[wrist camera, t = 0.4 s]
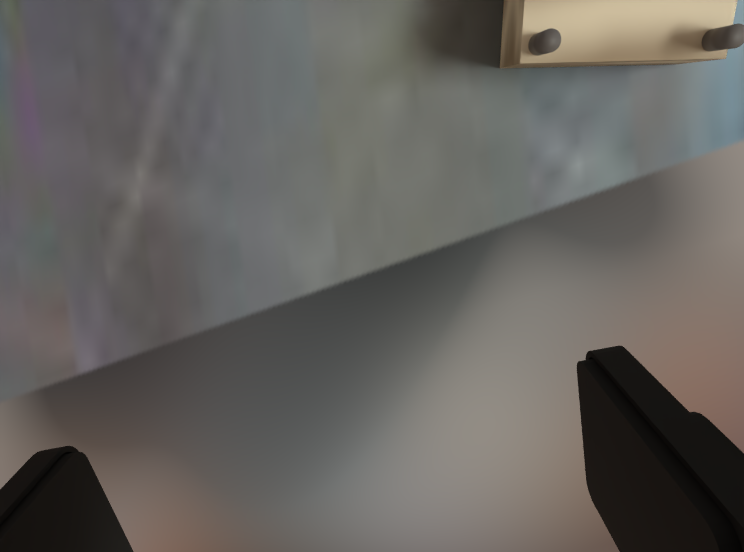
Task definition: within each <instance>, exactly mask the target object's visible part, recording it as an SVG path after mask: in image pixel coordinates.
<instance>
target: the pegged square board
mask: <svg viewBox="0 0 744 552" xmlns="http://www.w3.org/2000/svg"><path fill="white" fill-rule="evenodd" d="M736 5H737V0H504V6H503V23H502V40H501V57H500V68H534V67H577V66H619V65H661V64H683V63H691V62H700V61H709V60H718V59H726V56H727V50H728V49H732V48H737V47H739V46H741V45H742V44H743V43H744V25H742V24H734V25H733V20H734V15H735V10H736Z"/></svg>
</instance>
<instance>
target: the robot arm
mask: <svg viewBox="0 0 744 552" xmlns="http://www.w3.org/2000/svg"><path fill="white" fill-rule="evenodd" d="M577 376H578V387H579V400H580V412H581V424H582V435H583V447H584V459H585V471H586V481H587V486H588V490H589V493H590V496H591V499H592V501H593V503H594V505H595V507H596V509H597V510H598V512H599V514H600V516H601V517H602V520H603V521H604V523H605V525H606V527H607V529H608V531H609V533H610V534H611V536H612V538H613V540H614V542H615V544H616V545H617V547H618V549H619V551H620V552H744V453H742V451H740V450H739V449H738V448H737V447H736V446H735V445H734V444H733V443H732V442H731V441H730V440H729V439H728V438H727V437H726V436H725V435H724V434H723V433H722V432H721V431H720V430H719V429H718V428H717V427H716V426H715V425H713V424H712V423H711V422H710V421H709V420H708V419H707V418H706V417H704V416H703V415H702V414H700V413H696V412H689V411H688V410H687V409H685V407H684V406H683V405H682V404H681V403H680V402H679V401H678V400H676V398H674V396H672V394H671V393H670V392H668V390H667V389H666V388H664V387H663V386H662V384H661V383H659V382H658V380H657V379H656V378H654V377H653V376H652V375H651V374H650V373H649V372H648V371H647V370H646V369H645V368H644V367H643V366H642V365H641V364H640V363H639V362H638V361H637V360H636V359H635V358H634V357H633V356H632V355H631V354H630V353H629V352H628V351H627V350H626V349H625V348H624V347H623V346H615V347H609V348H604V349H598V350H593V351H588V353H587V354H586V360H584V361H579V362H578V363H577ZM0 552H133V550H132V548H131V546H130V544H129V542H128V540H127V538H126V536H125V534H124V531H123V529H122V527H121V525H120V523H119V521H118V519H117V517H116V515H115V513H114V511H113V509H112V507H111V505H110V503H109V501H108V499H107V497H106V495H105V493H104V491H103V489H102V487H101V485H100V483H99V480H98V478H97V476H96V475H95V472H94V470H93V468H92V466H91V464H90V462H89V460H88V458H87V457H86V455H85V454H83V453H82V452H79V451H78V450H77V449H76V448H74V447H72V446H65V447H59V448H54V449H48V450H44V451H39V452H37V453H36V454H34V455H33V456H32V457H31V458H30V459H29V460H28V461H27V462H26V463H25V464H24V465H23V466H22V467H21V468H20V469H19V470H18V471H17V473H16V474H15V475H14V476H13V477H12V478H11V479H10V480H9V481H8V482H7V483H6V484H5V485H4V486H3V487H2V488H1V489H0Z"/></svg>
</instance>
